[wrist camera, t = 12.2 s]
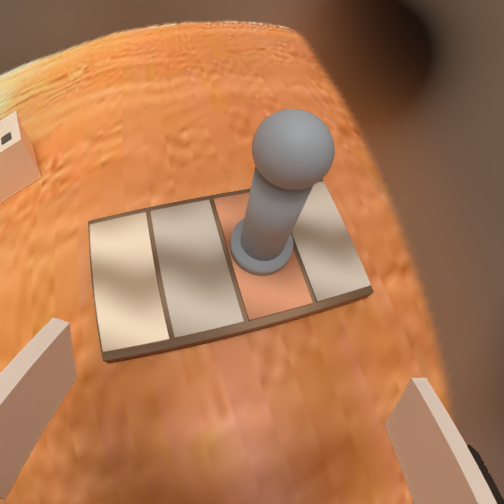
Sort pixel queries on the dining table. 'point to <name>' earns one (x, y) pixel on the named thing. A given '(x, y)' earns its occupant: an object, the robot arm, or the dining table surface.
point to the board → (211, 274)
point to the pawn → (280, 187)
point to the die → (15, 158)
